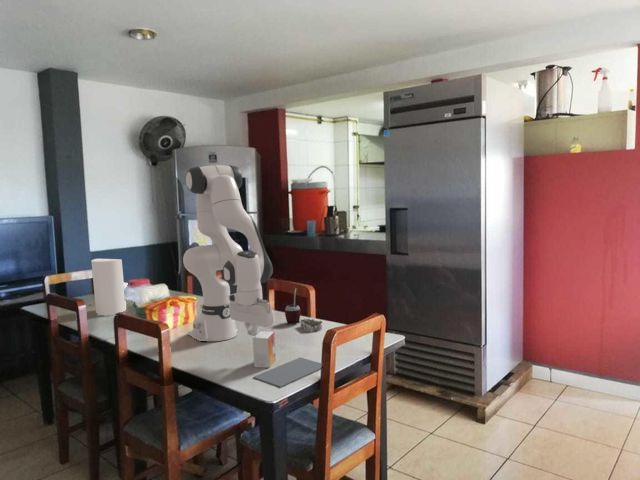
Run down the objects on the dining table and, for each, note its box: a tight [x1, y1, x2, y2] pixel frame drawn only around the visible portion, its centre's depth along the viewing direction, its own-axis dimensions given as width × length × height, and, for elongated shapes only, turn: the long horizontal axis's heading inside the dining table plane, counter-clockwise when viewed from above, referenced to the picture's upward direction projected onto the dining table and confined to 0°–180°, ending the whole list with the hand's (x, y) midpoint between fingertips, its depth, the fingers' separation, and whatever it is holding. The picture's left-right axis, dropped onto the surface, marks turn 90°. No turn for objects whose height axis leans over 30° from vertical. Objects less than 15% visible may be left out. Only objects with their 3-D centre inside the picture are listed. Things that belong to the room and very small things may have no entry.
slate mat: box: [252, 356, 322, 388], centre depth 164 cm, size 13×22×1 cm, turn 138°
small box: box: [252, 331, 277, 369], centre depth 172 cm, size 8×6×10 cm
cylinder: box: [90, 258, 129, 314], centre depth 256 cm, size 17×17×28 cm
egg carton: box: [299, 318, 323, 333], centre depth 212 cm, size 11×8×4 cm
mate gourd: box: [284, 288, 301, 326], centre depth 221 cm, size 8×8×15 cm
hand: (252, 335), depth 175 cm, fingers closed
